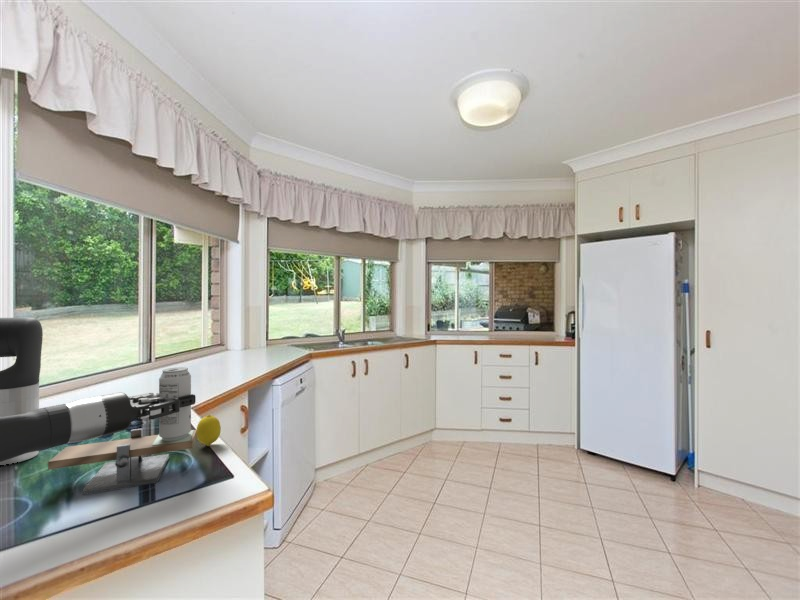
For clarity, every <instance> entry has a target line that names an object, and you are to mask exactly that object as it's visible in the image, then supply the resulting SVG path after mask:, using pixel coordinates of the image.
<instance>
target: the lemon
mask: <svg viewBox="0 0 800 600" xmlns="http://www.w3.org/2000/svg"><path fill="white" fill-rule="evenodd" d="M221 427H222V426H221V423H220V421H219V419H218V418H217V417H216V416H214V415H211V414H207V415H206V416H204V417H202V418H201V419H200V420H199V421H198V423H197V425H196V429H195V430H197V436H196V439H197V441H198V442H199V443H201V444H203V445H205V446H206V447H210V446H211V445H212V444H213V443H215V442H217V440H218V439H219V437H220V435H221Z"/></svg>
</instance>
